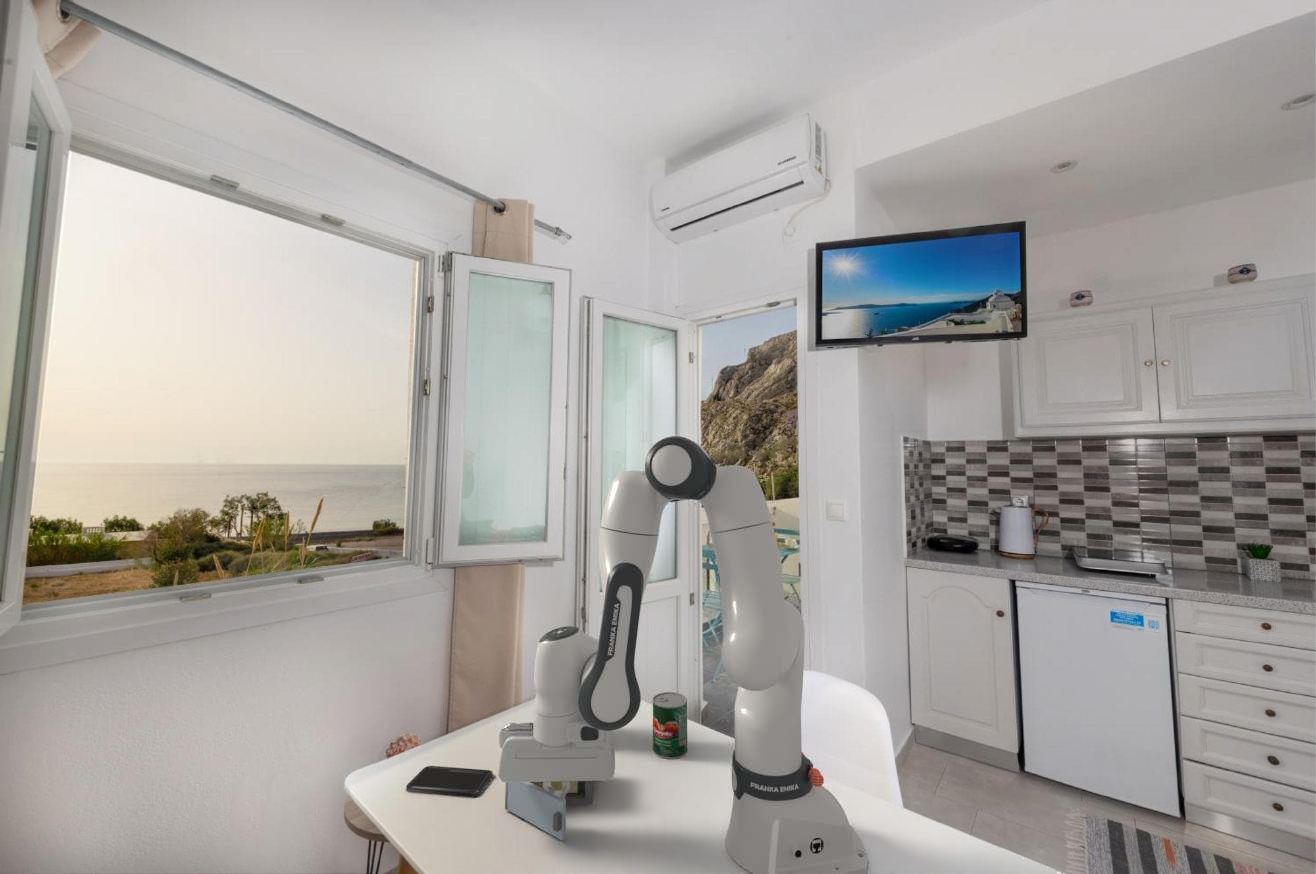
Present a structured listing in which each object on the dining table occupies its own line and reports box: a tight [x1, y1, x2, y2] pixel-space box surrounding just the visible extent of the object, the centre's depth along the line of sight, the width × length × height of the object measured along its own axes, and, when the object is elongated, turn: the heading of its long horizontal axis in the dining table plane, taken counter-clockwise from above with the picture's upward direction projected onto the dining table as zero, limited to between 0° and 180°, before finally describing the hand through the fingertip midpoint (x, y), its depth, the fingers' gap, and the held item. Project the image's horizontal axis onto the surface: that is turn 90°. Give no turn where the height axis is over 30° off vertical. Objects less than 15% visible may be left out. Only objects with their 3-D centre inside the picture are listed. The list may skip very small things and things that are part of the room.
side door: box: [504, 782, 567, 841], centre depth 90 cm, size 15×2×6 cm, turn 56°
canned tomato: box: [652, 691, 689, 760], centre depth 115 cm, size 8×8×11 cm
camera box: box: [530, 781, 596, 807], centre depth 100 cm, size 17×10×7 cm, turn 93°
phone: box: [405, 765, 494, 798], centre depth 102 cm, size 8×1×15 cm
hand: (557, 804), depth 90 cm, fingers closed
